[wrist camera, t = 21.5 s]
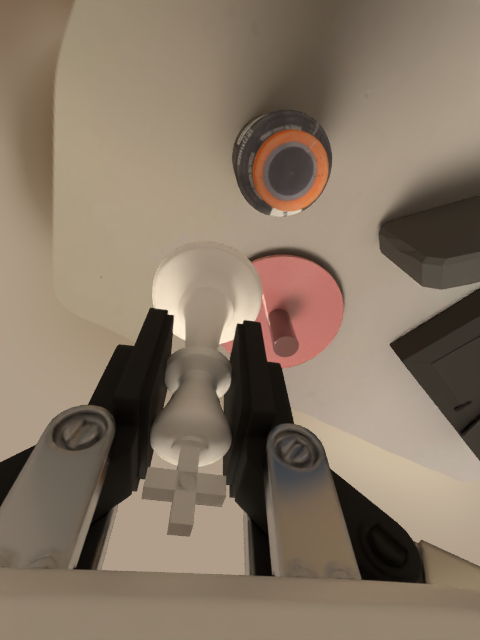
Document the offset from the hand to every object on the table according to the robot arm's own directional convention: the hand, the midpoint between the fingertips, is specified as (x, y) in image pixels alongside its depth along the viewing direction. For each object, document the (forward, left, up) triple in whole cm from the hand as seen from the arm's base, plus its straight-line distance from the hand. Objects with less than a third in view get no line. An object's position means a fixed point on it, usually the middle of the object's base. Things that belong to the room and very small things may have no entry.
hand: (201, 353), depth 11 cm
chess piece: (0, 0, -5) cm, 5 cm away
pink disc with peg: (+8, -10, -21) cm, 24 cm away
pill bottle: (+4, +5, -21) cm, 22 cm away
